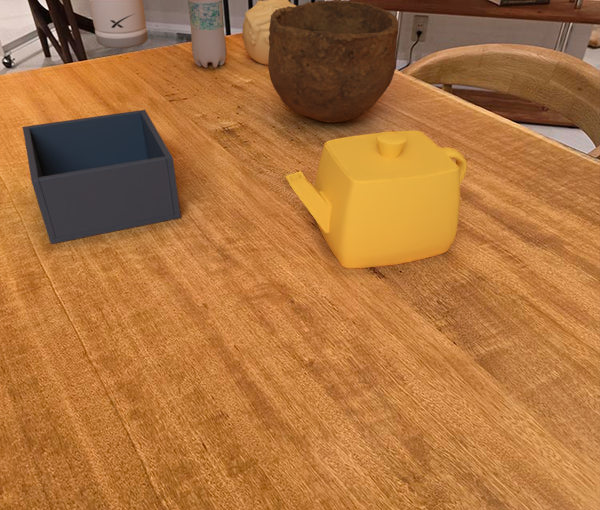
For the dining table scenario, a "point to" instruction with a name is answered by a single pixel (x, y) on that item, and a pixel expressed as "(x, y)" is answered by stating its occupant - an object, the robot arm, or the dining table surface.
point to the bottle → (207, 32)
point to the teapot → (384, 197)
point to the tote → (101, 175)
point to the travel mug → (119, 22)
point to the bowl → (332, 57)
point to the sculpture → (260, 28)
